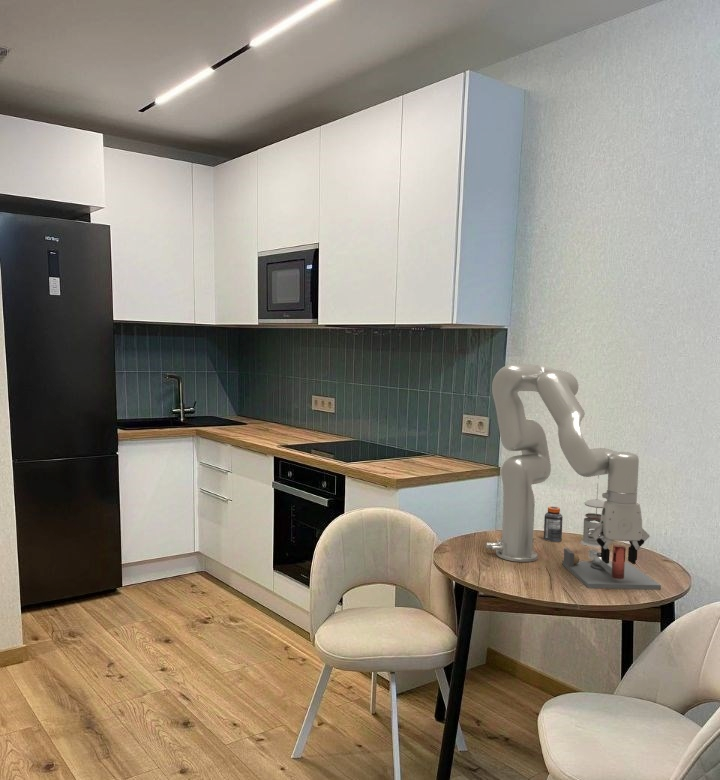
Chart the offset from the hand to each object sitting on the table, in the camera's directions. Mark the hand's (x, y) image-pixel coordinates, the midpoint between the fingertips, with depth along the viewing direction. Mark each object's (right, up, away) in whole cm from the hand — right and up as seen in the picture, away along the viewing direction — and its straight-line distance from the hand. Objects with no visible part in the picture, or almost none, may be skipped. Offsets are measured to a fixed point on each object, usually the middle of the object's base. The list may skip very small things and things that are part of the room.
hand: (618, 561), depth 174 cm
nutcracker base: (+1, -6, +8) cm, 10 cm away
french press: (+10, -5, +42) cm, 43 cm away
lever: (0, -4, +8) cm, 9 cm away
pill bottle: (-4, -5, +45) cm, 46 cm away
